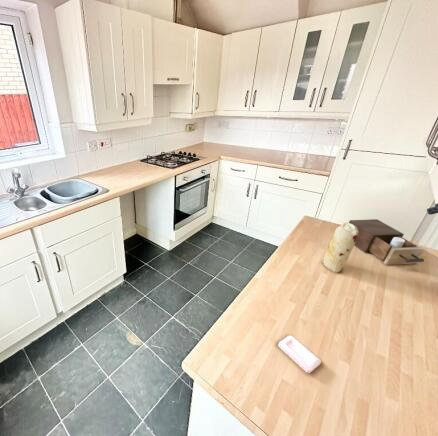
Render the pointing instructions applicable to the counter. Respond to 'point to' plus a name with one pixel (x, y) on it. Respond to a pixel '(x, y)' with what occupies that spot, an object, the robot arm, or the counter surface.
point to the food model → (340, 246)
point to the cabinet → (371, 232)
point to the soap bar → (299, 354)
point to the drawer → (395, 251)
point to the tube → (397, 243)
